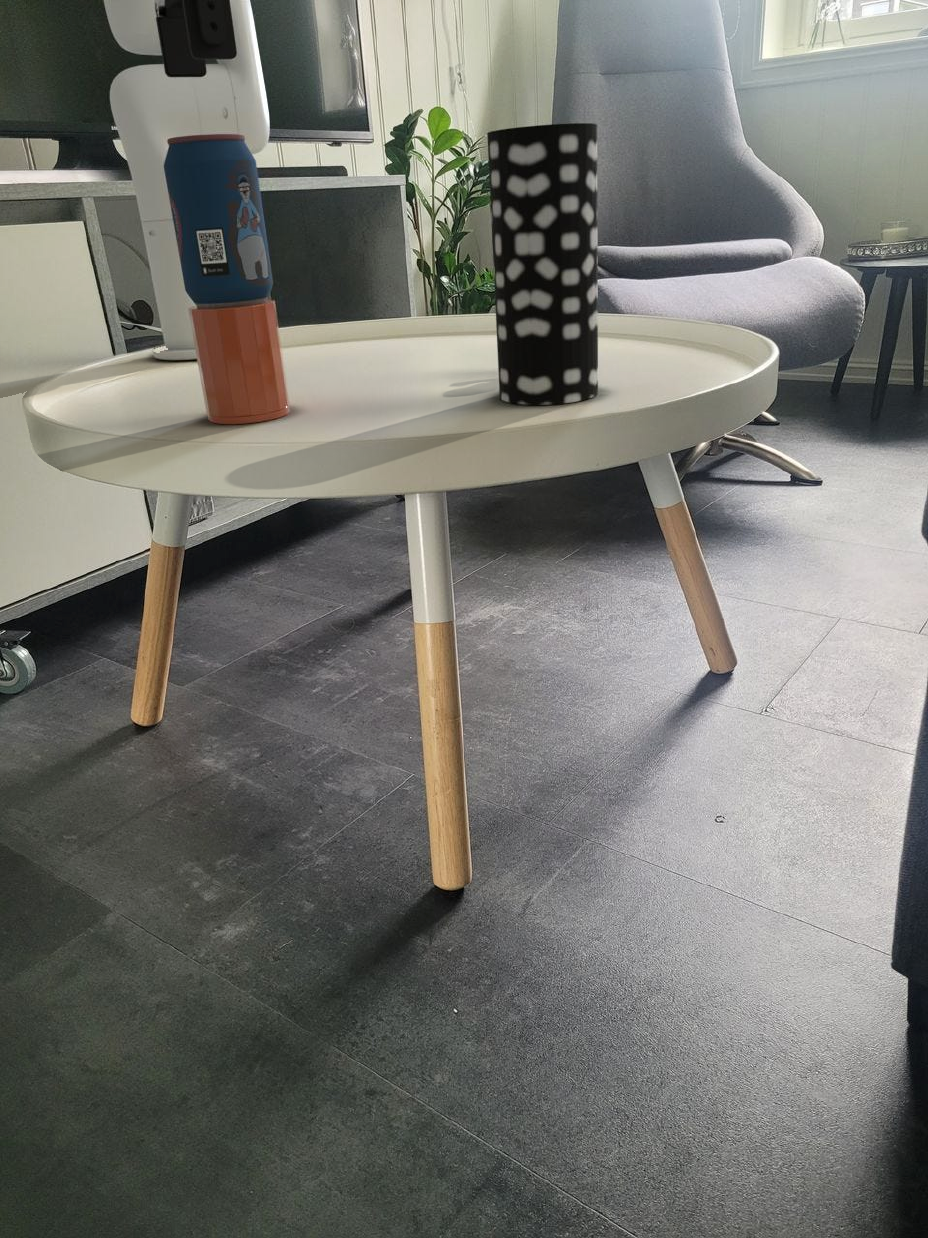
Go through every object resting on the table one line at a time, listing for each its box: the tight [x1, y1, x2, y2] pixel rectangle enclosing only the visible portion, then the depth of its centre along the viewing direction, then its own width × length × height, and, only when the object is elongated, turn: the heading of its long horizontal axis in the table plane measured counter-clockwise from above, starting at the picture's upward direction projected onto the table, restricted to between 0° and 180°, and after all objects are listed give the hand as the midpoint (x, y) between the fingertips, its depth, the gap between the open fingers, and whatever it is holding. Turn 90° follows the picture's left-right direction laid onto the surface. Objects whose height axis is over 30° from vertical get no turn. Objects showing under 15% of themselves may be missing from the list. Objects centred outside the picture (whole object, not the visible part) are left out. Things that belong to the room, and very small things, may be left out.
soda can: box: [164, 134, 274, 308], centre depth 72 cm, size 7×7×12 cm
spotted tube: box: [486, 122, 599, 406], centre depth 74 cm, size 8×8×20 cm
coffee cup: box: [188, 299, 290, 425], centre depth 76 cm, size 7×7×9 cm
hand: (199, 67), depth 69 cm, fingers open, 9 cm apart
